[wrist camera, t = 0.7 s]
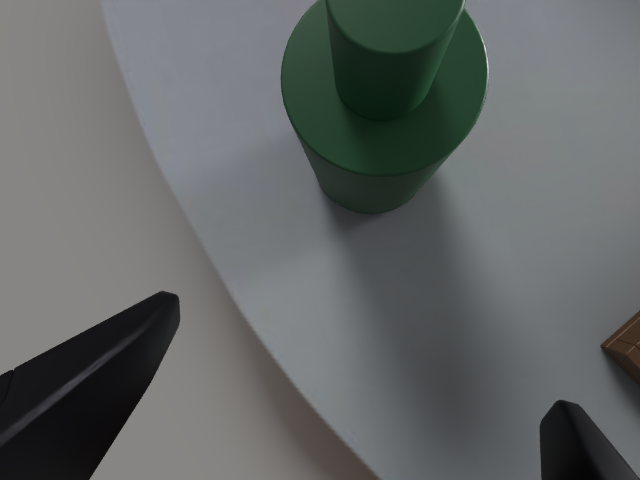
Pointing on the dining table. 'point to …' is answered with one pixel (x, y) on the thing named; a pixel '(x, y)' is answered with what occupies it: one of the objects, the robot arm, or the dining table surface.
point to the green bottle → (382, 94)
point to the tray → (626, 347)
